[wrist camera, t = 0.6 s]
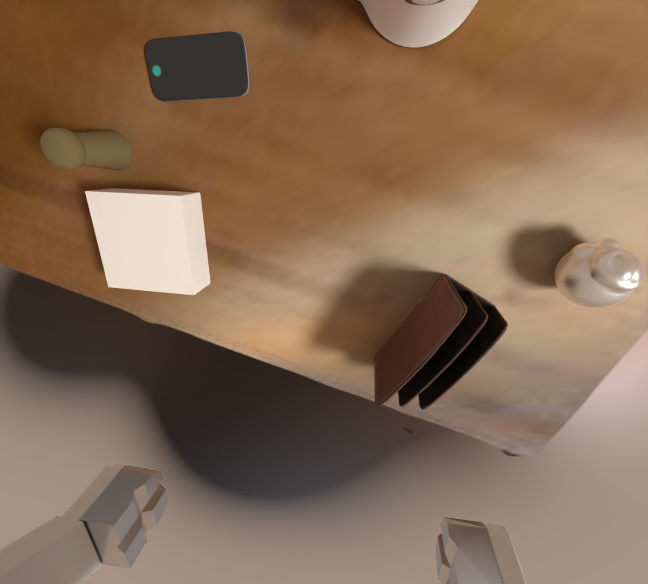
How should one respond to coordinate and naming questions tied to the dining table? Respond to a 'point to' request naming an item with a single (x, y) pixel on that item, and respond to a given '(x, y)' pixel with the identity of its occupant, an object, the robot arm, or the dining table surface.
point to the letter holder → (437, 344)
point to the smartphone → (198, 67)
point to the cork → (86, 148)
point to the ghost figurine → (598, 273)
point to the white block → (151, 239)
